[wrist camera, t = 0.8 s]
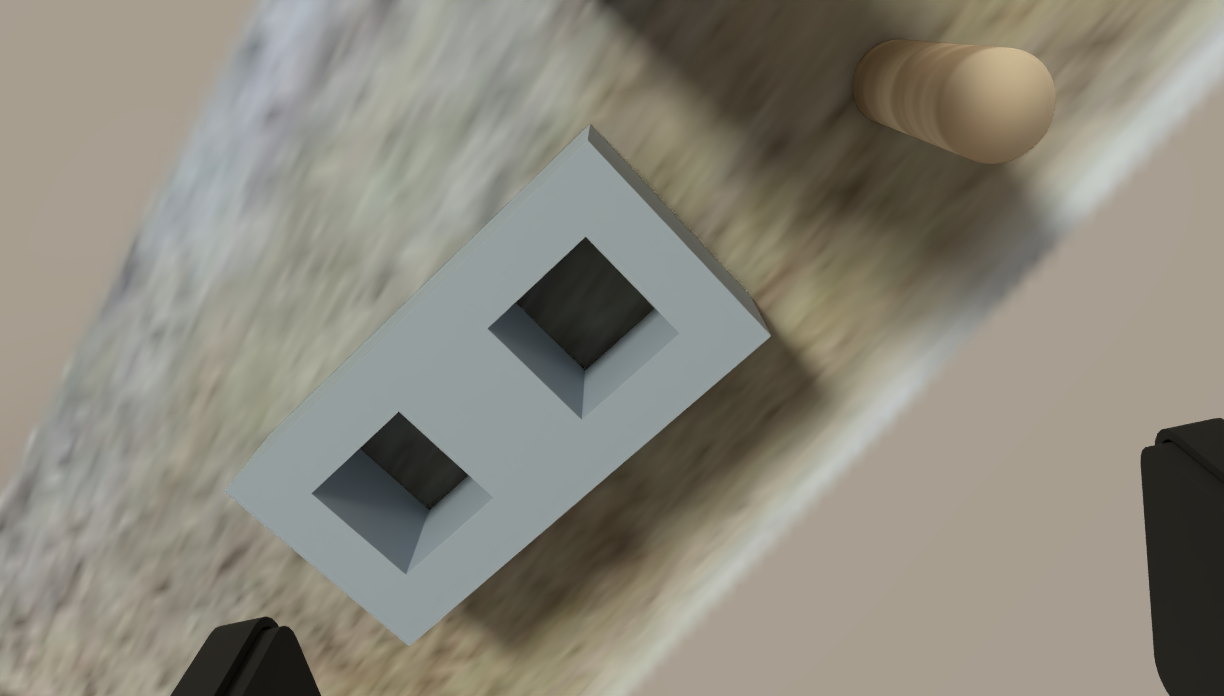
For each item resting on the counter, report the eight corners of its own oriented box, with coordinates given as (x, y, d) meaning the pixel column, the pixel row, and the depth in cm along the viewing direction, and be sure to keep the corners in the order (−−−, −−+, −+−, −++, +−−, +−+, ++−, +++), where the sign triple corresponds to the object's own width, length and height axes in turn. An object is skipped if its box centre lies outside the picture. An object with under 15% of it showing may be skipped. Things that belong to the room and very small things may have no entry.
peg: (901, 20, 35) (1011, 22, 25) (952, 84, 35) (1078, 109, 26) (835, 81, 35) (918, 104, 26) (887, 142, 36) (986, 187, 27)
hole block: (590, 123, 36) (587, 140, 31) (750, 295, 38) (771, 335, 33) (269, 434, 40) (223, 491, 35) (431, 575, 42) (409, 646, 37)
